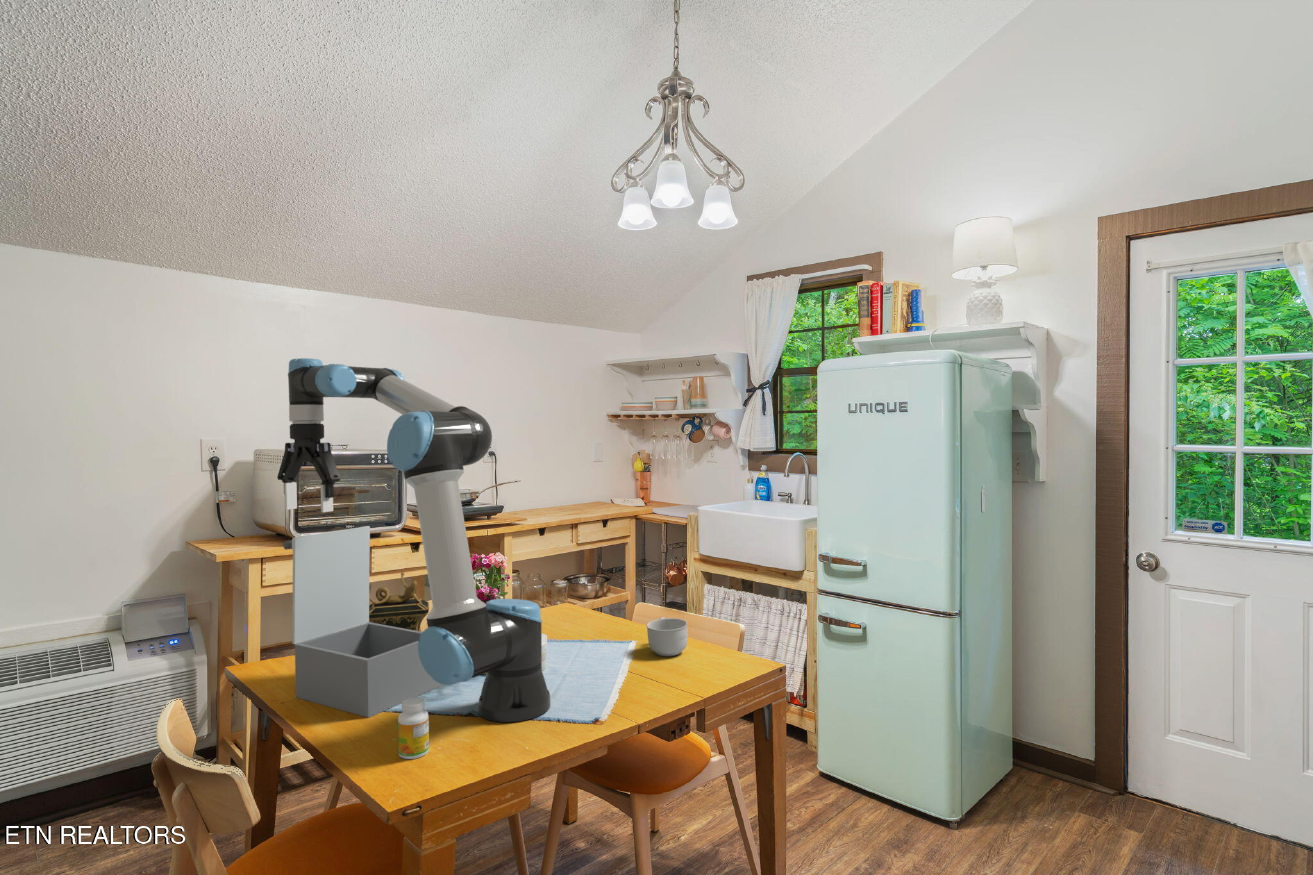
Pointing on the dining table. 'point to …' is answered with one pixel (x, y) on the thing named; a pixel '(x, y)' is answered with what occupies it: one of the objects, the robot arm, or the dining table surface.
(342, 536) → the lid flap
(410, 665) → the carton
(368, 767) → the dining table surface
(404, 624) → the decorative box
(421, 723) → the supplement bottle
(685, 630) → the teacup
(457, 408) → the robot arm
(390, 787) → the dining table surface
